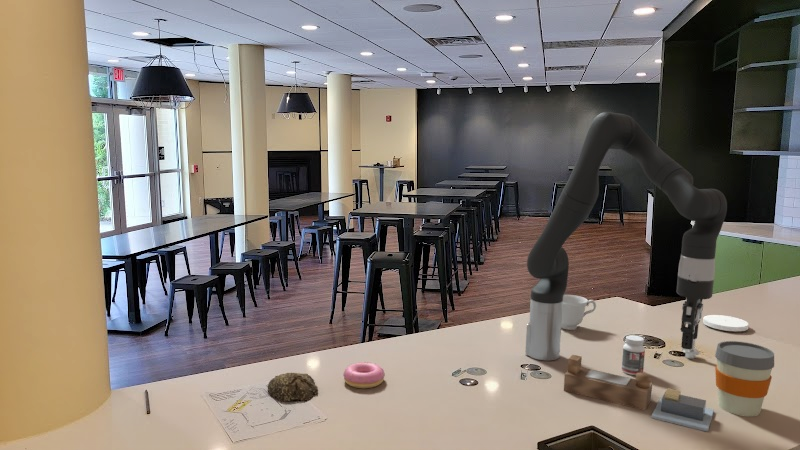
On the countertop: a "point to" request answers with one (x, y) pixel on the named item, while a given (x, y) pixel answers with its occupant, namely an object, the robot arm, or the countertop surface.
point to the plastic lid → (725, 323)
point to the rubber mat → (683, 418)
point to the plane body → (608, 385)
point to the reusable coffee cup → (743, 376)
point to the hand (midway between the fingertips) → (689, 343)
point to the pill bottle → (633, 355)
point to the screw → (691, 351)
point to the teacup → (574, 311)
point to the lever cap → (682, 405)
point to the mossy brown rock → (292, 387)
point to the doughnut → (363, 375)
